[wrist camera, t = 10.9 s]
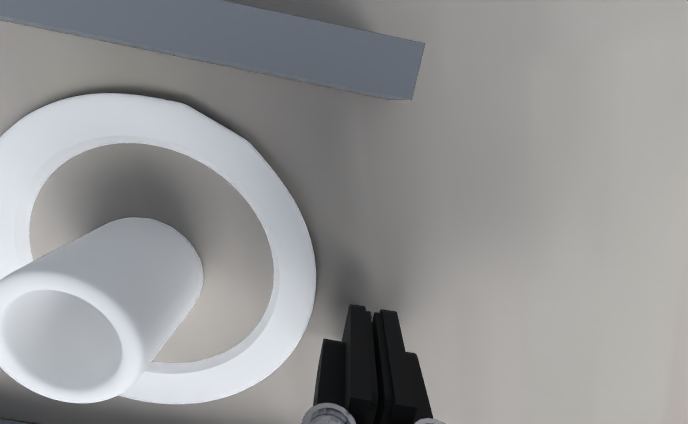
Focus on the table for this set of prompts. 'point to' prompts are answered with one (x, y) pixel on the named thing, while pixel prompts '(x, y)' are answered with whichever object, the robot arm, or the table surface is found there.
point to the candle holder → (135, 264)
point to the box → (237, 41)
